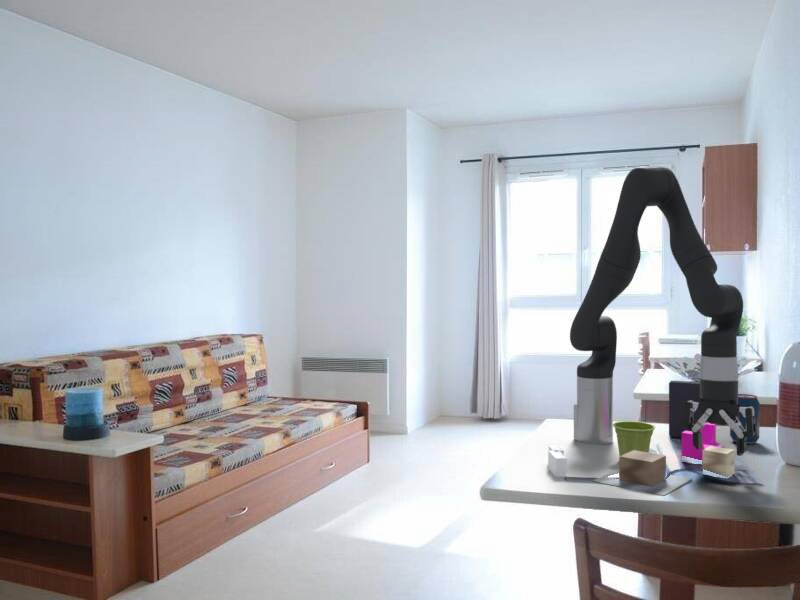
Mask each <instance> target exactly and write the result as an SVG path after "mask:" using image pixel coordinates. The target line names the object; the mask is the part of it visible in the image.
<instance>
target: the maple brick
mask: <svg viewBox="0 0 800 600" xmlns="http://www.w3.org/2000/svg"><path fill="white" fill-rule="evenodd" d="M735 453H736V452H735V449H733V448H727V447H722V448H721V447H714V446H709V447H708V448H706V449H704V450H703V461H702V469H704V470H707V471H710V472H713V473H716V474H719V475H722V476H725V477H728V476H730V475H732V474H734V475H735Z"/></svg>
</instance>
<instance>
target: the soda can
mask: <svg viewBox="0 0 800 600" xmlns="http://www.w3.org/2000/svg"><path fill="white" fill-rule="evenodd" d="M738 404H739V406H740V407H751V406H752V407H754V408H755V419H756V434H755V435H753V436H751V437H750V436H749V437H747V438H746V444H755V443H757V442H758V440H759V439H760V410H761V409H760V402H759V400H758V396H757V395H754V394H747V393H738ZM736 417H737V419H738V420H739V421H740V423H741V425H742V427H743V428H744V429H745V431H746V418H745V417H743V415H742V413H741V412H740V413H739V414H738V415H737V416H736ZM729 437H731V440H732V441H734V442H736V443H737V438H738V436H737V435H736V433H735V432H734V431H733V430H732V429H731V428H730V427H729Z"/></svg>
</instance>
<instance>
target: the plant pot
mask: <svg viewBox="0 0 800 600" xmlns="http://www.w3.org/2000/svg"><path fill="white" fill-rule="evenodd" d="M613 428H614V431H615V434H616V440H617V447H618V455H619V456H622V455H624V454H626V453H628V452H631V451H633V450H636V451H642V452H648V453H650V446H651V440H652V435H653V433H654V430H655V429H656V427H655V425H653V424H651V423H647V422H643V421H632V420H631V421H626V420H625V421H617V422H613Z"/></svg>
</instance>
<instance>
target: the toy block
mask: <svg viewBox="0 0 800 600" xmlns="http://www.w3.org/2000/svg"><path fill="white" fill-rule="evenodd" d="M701 432H702V449H700V450H697V449H695V446H693V432H692V431H684V432H682V438H681V457H682V456H686V457H690V458H694V459H698V460H702V461H703V450H704V449H706V448H708V447H709V446H714V447H721V448H723V447H722V446H723V445H722V444H717V443H716V442H717V424H710V423H707V424H706V425H705V426H704V427H703V428H702V429H701Z"/></svg>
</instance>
